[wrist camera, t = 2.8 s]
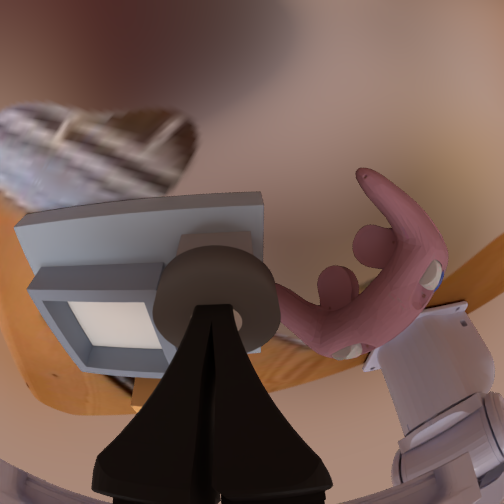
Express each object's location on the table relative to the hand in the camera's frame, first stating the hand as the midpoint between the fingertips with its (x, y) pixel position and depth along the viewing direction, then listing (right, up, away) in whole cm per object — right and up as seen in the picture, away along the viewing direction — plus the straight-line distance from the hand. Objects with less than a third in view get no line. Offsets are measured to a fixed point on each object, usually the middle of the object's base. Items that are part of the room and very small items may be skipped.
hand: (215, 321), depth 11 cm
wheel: (0, +2, +3) cm, 4 cm away
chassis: (-5, +1, +6) cm, 8 cm away
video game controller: (+7, +3, +6) cm, 9 cm away
